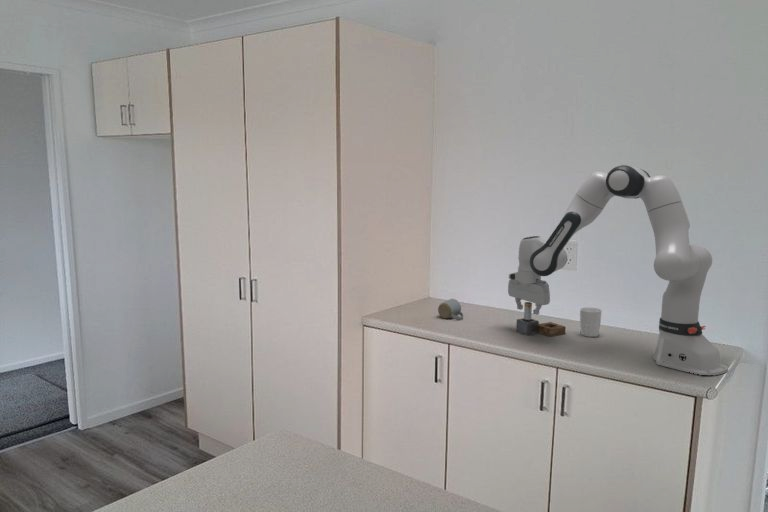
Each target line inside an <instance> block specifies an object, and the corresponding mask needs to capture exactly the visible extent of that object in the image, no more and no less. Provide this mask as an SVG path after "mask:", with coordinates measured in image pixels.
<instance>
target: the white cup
mask: <svg viewBox="0 0 768 512" xmlns="http://www.w3.org/2000/svg"><path fill="white" fill-rule="evenodd" d="M579 309H580V310H579V312H580V313H579V317H580V319H579V320H580V321H579V323H580V325H579V326H580V334H581V335H582V336H584V337H590V338H591V337H593V338H594V337H598V336H599V335H600V327H601V320H602V312H603V311H602V309H600V308H596V307H588V306H586V307H585V306H584V307H581V308H579Z"/></svg>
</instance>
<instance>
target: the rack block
mask: <svg viewBox="0 0 768 512" xmlns="http://www.w3.org/2000/svg"><path fill="white" fill-rule="evenodd" d="M566 328H567V327H566V325H562V324H558V323H555V322H552V321H549V322H543V323H539V326H538V333H537V334H541V335H543V336H547V337H550V338H551V337H556V336H562V335H566Z"/></svg>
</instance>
